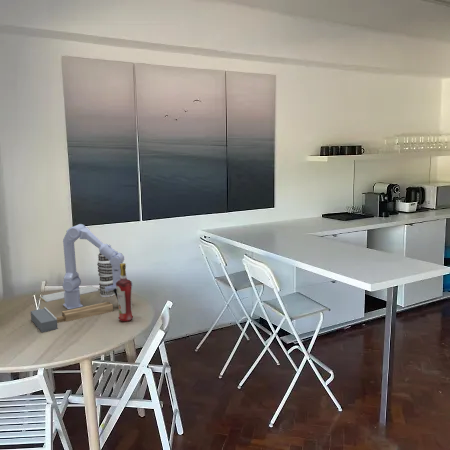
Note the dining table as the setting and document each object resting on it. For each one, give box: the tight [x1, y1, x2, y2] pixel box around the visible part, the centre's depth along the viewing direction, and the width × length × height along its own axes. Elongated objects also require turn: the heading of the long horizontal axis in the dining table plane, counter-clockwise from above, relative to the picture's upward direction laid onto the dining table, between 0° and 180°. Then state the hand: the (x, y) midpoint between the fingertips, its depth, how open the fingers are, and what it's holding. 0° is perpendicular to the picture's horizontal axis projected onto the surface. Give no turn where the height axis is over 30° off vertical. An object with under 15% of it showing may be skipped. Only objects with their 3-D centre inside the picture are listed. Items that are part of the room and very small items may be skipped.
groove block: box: [30, 306, 58, 333], centre depth 225 cm, size 20×7×5 cm, turn 35°
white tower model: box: [97, 252, 116, 298], centre depth 267 cm, size 9×9×25 cm
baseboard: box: [38, 285, 100, 303], centre depth 271 cm, size 31×3×12 cm
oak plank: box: [55, 301, 114, 324], centre depth 236 cm, size 6×28×4 cm, turn 125°
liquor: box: [116, 262, 134, 323], centre depth 227 cm, size 7×7×28 cm
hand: (119, 301), depth 247 cm, fingers closed
